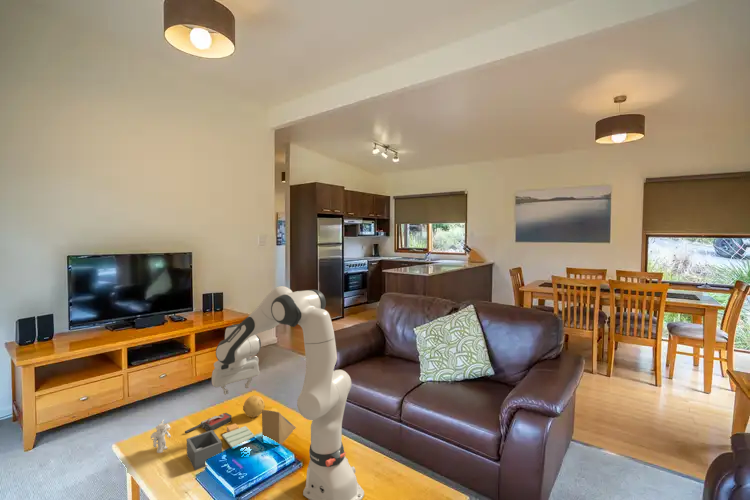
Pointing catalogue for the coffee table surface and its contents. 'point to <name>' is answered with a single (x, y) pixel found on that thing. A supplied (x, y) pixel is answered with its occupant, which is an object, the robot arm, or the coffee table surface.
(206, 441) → the parts tub
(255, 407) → the stress ball
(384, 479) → the coffee table surface
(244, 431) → the lid
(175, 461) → the coffee table surface
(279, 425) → the sandwich container
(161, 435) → the flower shoulder figurine
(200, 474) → the coffee table surface
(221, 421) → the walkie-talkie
